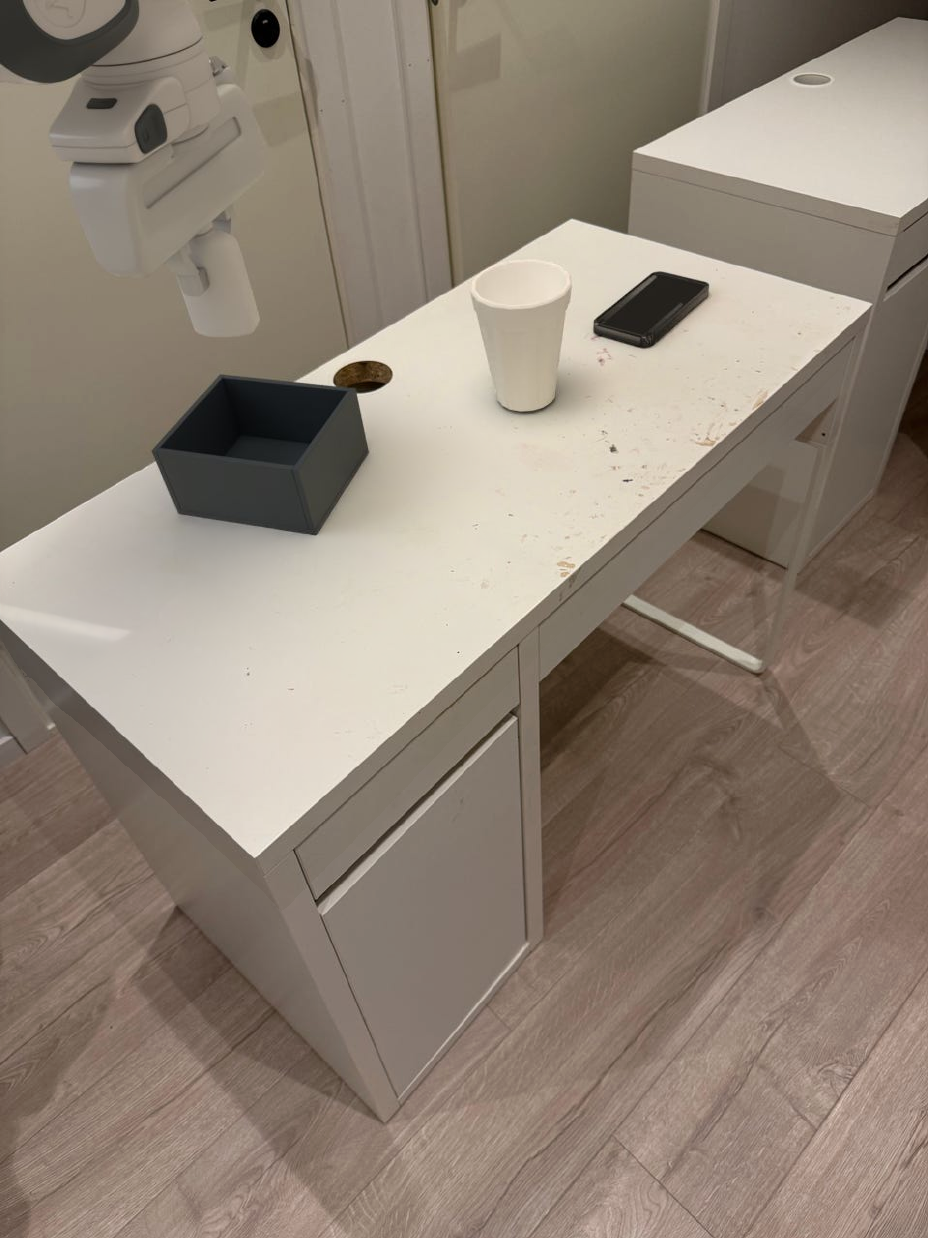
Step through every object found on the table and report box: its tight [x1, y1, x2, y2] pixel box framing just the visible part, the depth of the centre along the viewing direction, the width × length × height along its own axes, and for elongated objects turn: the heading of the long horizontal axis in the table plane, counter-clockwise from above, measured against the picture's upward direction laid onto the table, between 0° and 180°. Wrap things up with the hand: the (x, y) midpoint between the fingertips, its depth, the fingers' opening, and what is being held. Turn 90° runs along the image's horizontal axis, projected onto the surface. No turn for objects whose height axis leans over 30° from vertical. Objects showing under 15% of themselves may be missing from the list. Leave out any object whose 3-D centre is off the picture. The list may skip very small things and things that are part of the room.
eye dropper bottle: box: [175, 222, 261, 339], centre depth 72 cm, size 4×6×12 cm
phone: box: [592, 271, 710, 348], centre depth 105 cm, size 8×1×15 cm
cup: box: [469, 258, 573, 412], centre depth 91 cm, size 10×10×13 cm
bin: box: [151, 373, 370, 536], centre depth 87 cm, size 15×13×8 cm
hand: (211, 278), depth 73 cm, fingers closed on eye dropper bottle, 3 cm apart
